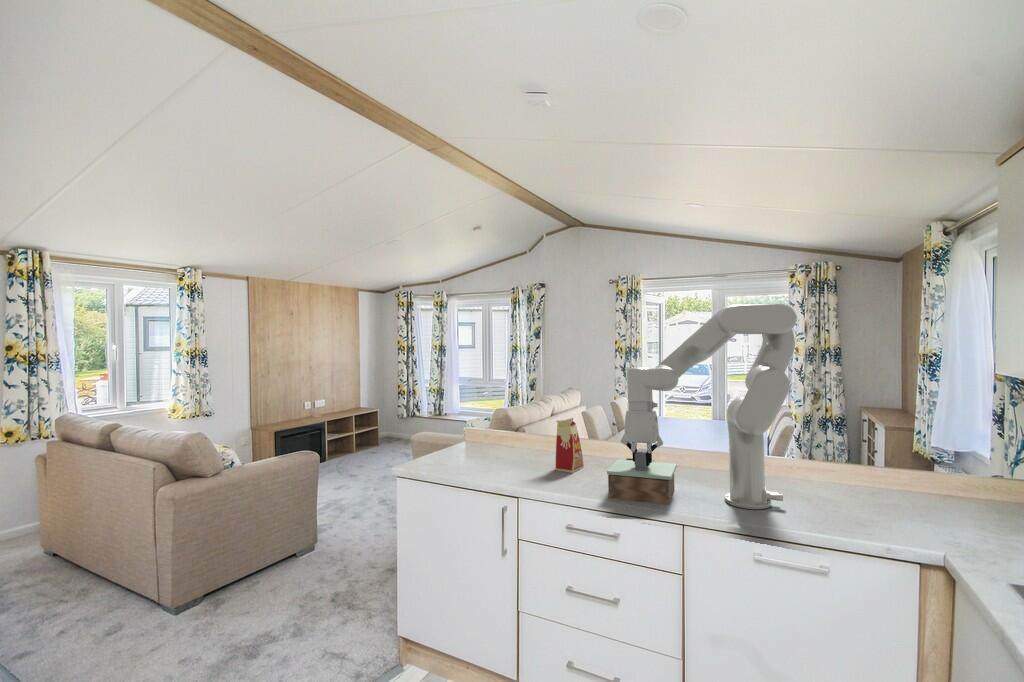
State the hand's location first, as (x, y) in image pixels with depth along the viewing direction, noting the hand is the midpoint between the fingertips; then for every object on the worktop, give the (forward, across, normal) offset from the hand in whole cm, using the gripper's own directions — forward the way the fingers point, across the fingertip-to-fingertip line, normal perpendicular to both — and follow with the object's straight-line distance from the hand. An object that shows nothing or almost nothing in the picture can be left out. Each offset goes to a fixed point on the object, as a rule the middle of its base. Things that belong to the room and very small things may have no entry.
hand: (642, 463), depth 151 cm
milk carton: (+10, +32, -23) cm, 41 cm away
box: (+11, 0, 0) cm, 11 cm away
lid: (+3, 0, 0) cm, 3 cm away
